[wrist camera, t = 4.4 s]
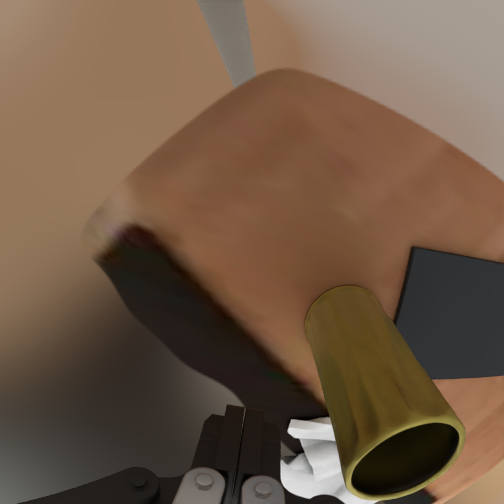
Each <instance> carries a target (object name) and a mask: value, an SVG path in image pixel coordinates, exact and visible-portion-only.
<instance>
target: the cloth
mask: <svg viewBox="0 0 504 504" xmlns="http://www.w3.org/2000/svg"><path fill="white" fill-rule="evenodd" d="M288 433H289V434H290V435H292V436H293V437H294V438H299V439H300V442H301V444H302V447H303V449H304V452H305V453H300V454H298V455H296V456H285V457H281V482H282V484H283V486H284V487H285V488H286V489H287V490H288V491H289V492H291V493H293V494H295V495H298V496H301V497H304V498H309V499H311V498H312V497H314V496H317V495H321V494H326V495H332V496H335V497H337V498H339V499H340V500H341V501H343V502H344V503H345V504H374V503H375V502H378V501H380V500H378V501H372V500H364V499H361V498H358V497H356V496H355V495H353V494H352V493H351V492H349V491H348V489H347V488H346V486H345V483H344V479H343V476H342V471H341V466H340V461H339V455H338V450H337V446H336V441H335V436H334V432H333V428H332V424H331V420H330V417H320V418H316V419H312V420H308V421H302V420H294V419H291V422H290V425H289V428H288Z"/></svg>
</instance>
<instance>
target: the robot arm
mask: <svg viewBox="0 0 504 504" xmlns="http://www.w3.org/2000/svg"><path fill="white" fill-rule="evenodd" d="M244 409H245V407H240V406H233V405H227V407H226V412H225V416H220V415H215V414H212V415H211V416H210V417H209V418H208V419H207V420H205V422H204V425H203V429H202V432H201V435H200V440H199V443H198V446H197V449H196V453H195V456H194V459H193V463H192V466H191V468H190V470H189V471H188V472H187V473H185V474H183V475H181V476H178V477H172V478H158V477H157V476H156V475H155V474H154V473H153V472H152V471H150V470H148V469H145V468H141V467H132V468H128V469H125V470H123V471H120V472H118V473H115V474H112V475H110V476H107V477H104V478H102V479H99V480H96V481H94V482H90V483H88V484H85V485H82V486H79V487H76V488H73V489H69V490H66V491H63V492H60V493H56V494H53V495H49V496H46V497H42V498H38V499H35V500H30V501H27V502H22V503H18V504H230V498H231V493H232V488H233V483H234V489H233V495H232V503H231V504H345V503H344V502H343V501H341V500H340V499H339V498H337V497H335V496H332V495H326V494H321V495H317V496H314V497H312V498H311V499H308V498H304V497H301V496H298V495H295V494H293V493H291V492H289V491H288V490H287V489H286V488H285V487H284V486H283V484H282V482H281V453H280V452H281V451H280V449H281V443H280V442H281V441H280V430H279V429H278V427H277V425H276V424H275V423H270V422H263V420H264V410H262V409H255V408H247V407H246V411H245V417H244V422H243V416H244ZM242 423H243V428H242ZM241 431H242V434H241ZM240 438H241V440H240ZM239 445H240V446H239ZM238 452H239V453H238ZM237 459H238V461H237ZM236 466H237V468H236ZM235 473H236V475H235ZM234 477H235V481H234Z"/></svg>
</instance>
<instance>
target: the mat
mask: <svg viewBox="0 0 504 504" xmlns="http://www.w3.org/2000/svg"><path fill="white" fill-rule="evenodd" d="M394 324H395V326H396V328H397V329H398V331H399V332H400V334H401V335H402V337H403V338H404V340H405V341H406V343H407V345H408V346H409V348H410V349H411V351H412V353H413V354H414V356H415V358H416V359H417V361H418V362H419V363H420V365H421V366H422V368H423V369H424V370H425V371H426V373H427V374H428V375H429V377H430V378H431V379H461V378H478V377H492V376H503V375H504V263H499V262H494V261H489V260H483V259H478V258H473V257H468V256H463V255H457V254H452V253H446V252H441V251H435V250H430V249H424V248H419V247H412V250H411V255H410V259H409V264H408V268H407V273H406V277H405V281H404V285H403V289H402V293H401V297H400V301H399V305H398V309H397V312H396V316H395V319H394Z"/></svg>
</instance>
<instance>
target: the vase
mask: <svg viewBox="0 0 504 504" xmlns="http://www.w3.org/2000/svg"><path fill="white" fill-rule="evenodd" d="M305 334H306V337H307V340H308V342H309V344H310V346H311V349H312V352H313V356H314V360H315V363H316V367H317V370H318V374H319V378H320V381H321V385H322V390H323V394H324V398H325V401H326V405H327V409H328V412H329V416H330V420H331V424H332V428H333V432H334V436H335V441H336V446H337V450H338V455H339V461H340V466H341V471H342V476H343V479H344V483H345V486H346V488H347V489H348V491H349V492H351V493H352V494H353V495H355V496H356V497H358V498H361V499H364V500H372V501H378V500H388V499H394V498H398V497H402V496H405V495H408V494H411V493H414V492H416V491H418V490H420V489H422V488H424V487H425V486H427V485H429V484H430V483H432V482H433V481H435V480H436V479H438V478H439V477H440V476H442V475H443V474H444V473H445V472H446V471H447V470H448V469H449V468H450V467H451V466H452V465H453V464H454V462H455V461H456V460H457V458H458V457H459V455H460V453H461V451H462V449H463V446H464V443H465V437H466V432H465V427H464V425H463V424H462V422H461V421H460V420H459V418H458V416H457V415H456V414H455V412H454V411H453V409H452V408H451V407H450V405H449V404H448V403H447V401H446V400H445V398H444V397H443V396H442V394H441V393H440V391H439V390H438V388H437V387H436V385H435V384H434V382H433V381H432V379H431V378H430V377H429V375H428V374H427V373H426V371H425V370H424V369H423V368H422V366H421V365H420V363H419V362H418V361H417V359H416V358H415V356H414V354H413V353H412V351H411V349H410V348H409V346H408V345H407V343H406V341H405V340H404V338H403V337H402V335H401V334H400V332H399V331H398V329H397V328H396V326H395V324H394V323H393V321H392V320H391V319H390V317H389V316H388V315H387V313H386V312H385V310H384V309H383V307H382V305H381V303H380V302H379V300H378V299H377V297H376V296H375V295H374V294H373V293H372V292H370V291H369V290H367V289H364V288H361V287H357V286H350V285H347V286H340V287H336V288H333V289H331V290H329V291H327V292H325V293H324V294H322V295H321V296H320V297H319V298H318V299H317V300H316V301H315V302H314V303H313V305H312V306H311V308H310V309H309V311H308V313H307V316H306V321H305Z"/></svg>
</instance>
